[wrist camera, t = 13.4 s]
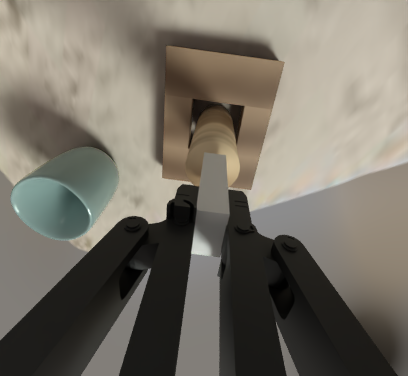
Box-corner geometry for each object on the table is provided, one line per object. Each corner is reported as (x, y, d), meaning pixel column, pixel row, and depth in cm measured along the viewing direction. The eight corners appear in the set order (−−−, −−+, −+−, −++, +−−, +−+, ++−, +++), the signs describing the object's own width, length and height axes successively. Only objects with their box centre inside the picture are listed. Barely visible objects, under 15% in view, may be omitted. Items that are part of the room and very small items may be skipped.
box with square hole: (171, 45, 24) (166, 45, 21) (278, 60, 24) (284, 62, 22) (166, 169, 31) (162, 178, 29) (248, 179, 31) (250, 189, 29)
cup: (99, 127, 28) (47, 162, 20) (138, 177, 32) (108, 225, 23) (55, 155, 31) (-8, 197, 22) (96, 199, 34) (54, 250, 26)
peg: (200, 102, 26) (187, 138, 16) (235, 107, 26) (245, 146, 16) (196, 136, 28) (183, 187, 18) (229, 141, 28) (234, 194, 18)
